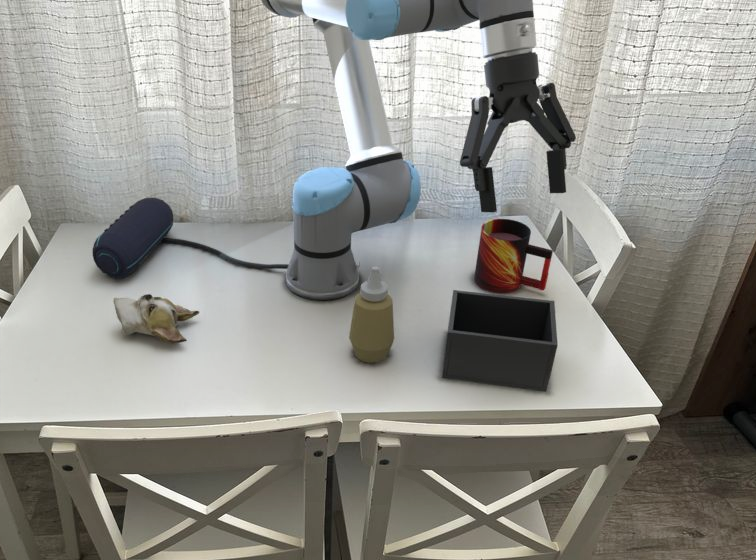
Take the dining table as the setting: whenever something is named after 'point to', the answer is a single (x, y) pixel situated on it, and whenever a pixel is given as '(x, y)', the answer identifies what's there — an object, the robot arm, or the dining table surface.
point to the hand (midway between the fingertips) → (524, 202)
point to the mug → (507, 257)
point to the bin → (500, 340)
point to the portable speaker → (132, 237)
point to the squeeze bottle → (372, 320)
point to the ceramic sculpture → (152, 317)
